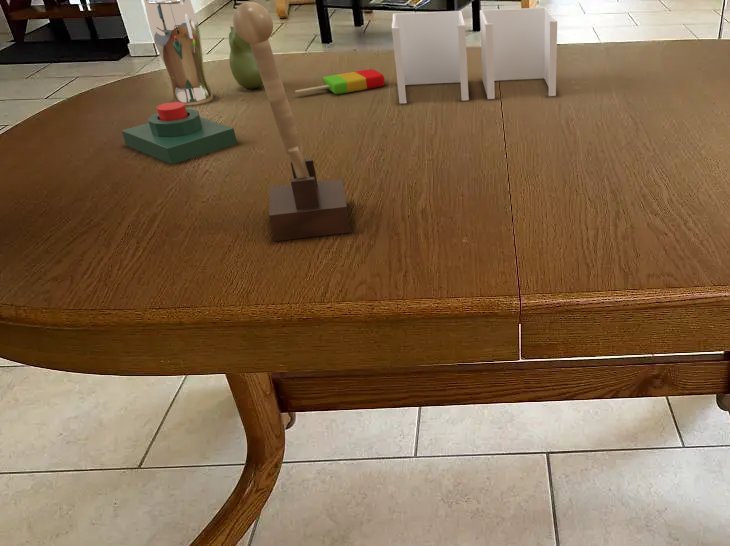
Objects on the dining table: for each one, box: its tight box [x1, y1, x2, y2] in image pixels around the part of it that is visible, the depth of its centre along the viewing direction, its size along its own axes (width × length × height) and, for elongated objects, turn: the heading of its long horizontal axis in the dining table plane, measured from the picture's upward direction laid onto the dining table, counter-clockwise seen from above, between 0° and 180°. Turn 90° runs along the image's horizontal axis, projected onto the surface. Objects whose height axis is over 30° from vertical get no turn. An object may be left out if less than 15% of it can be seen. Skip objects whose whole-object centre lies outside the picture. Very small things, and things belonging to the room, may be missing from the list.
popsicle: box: [294, 68, 385, 95], centre depth 123 cm, size 6×15×2 cm, turn 122°
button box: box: [121, 108, 238, 165], centre depth 102 cm, size 12×10×4 cm
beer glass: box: [143, 0, 214, 106], centre depth 116 cm, size 7×7×15 cm
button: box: [156, 101, 188, 121], centre depth 101 cm, size 4×4×2 cm
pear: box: [228, 25, 264, 90], centre depth 123 cm, size 6×5×10 cm
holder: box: [268, 157, 352, 242], centre depth 81 cm, size 8×8×6 cm
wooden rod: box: [232, 1, 310, 178], centre depth 74 cm, size 18×4×4 cm
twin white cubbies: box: [391, 6, 558, 104], centre depth 119 cm, size 25×11×11 cm, turn 96°
